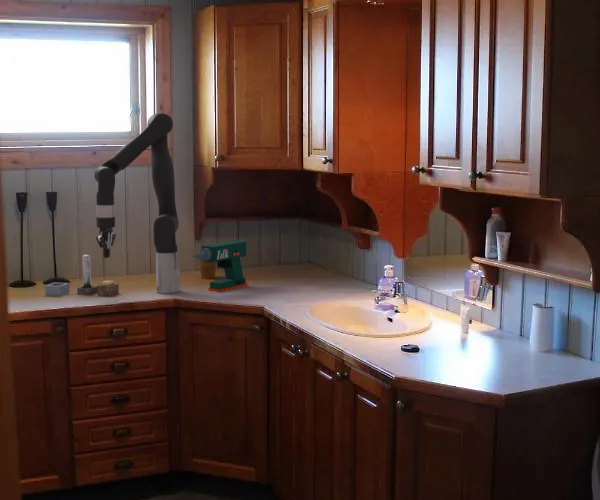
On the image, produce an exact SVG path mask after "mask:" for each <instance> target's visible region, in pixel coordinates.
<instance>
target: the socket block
mask: <svg viewBox="0 0 600 500" xmlns="http://www.w3.org/2000/svg"><path fill="white" fill-rule="evenodd" d="M119 284H120V283H114V285H111V286H102V283H101V284H98V285H91V288H83V285H81V286H79V287H77V288H76V289H77V291H76V292H73V293H70V296H72V295H74V296H89V297H103V298H104V297H105V298H118V297H121V296H122V295H125V294H126V292H120V290H119Z"/></svg>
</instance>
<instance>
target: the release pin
mask: <svg viewBox="0 0 600 500" xmlns="http://www.w3.org/2000/svg"><path fill="white" fill-rule="evenodd" d="M114 281H115V280H103V281H101V284H102V286H111V285H114V284H115V282H114Z"/></svg>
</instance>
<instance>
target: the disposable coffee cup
mask: <svg viewBox="0 0 600 500" xmlns="http://www.w3.org/2000/svg"><path fill="white" fill-rule="evenodd" d="M198 264H199V269H200V276H201V279H203V280H212V279H215V278H216V270H217V262H206V261H202V260H201V259H200V258H198Z"/></svg>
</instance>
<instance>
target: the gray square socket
mask: <svg viewBox="0 0 600 500" xmlns="http://www.w3.org/2000/svg"><path fill="white" fill-rule="evenodd" d="M44 288H45V289H44V290H45V291H44V292H45V294H42V295H41V296H42V297H43V296H46V297H60V298H62V297H64V296H66V295H71V294H72V293H74V292H72V291H70V283H69V282H51V283H48V284H45V285H44Z"/></svg>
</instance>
